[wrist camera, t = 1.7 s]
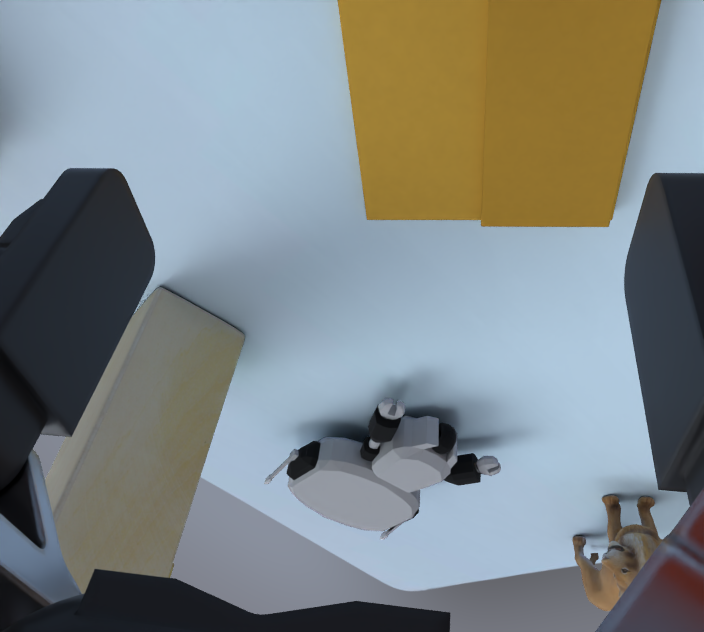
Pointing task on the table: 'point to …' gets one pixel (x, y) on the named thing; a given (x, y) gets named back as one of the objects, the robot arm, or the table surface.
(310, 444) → the robot toy
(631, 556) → the lion figurine
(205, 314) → the toy refrigerator
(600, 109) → the cloth
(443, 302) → the table surface
